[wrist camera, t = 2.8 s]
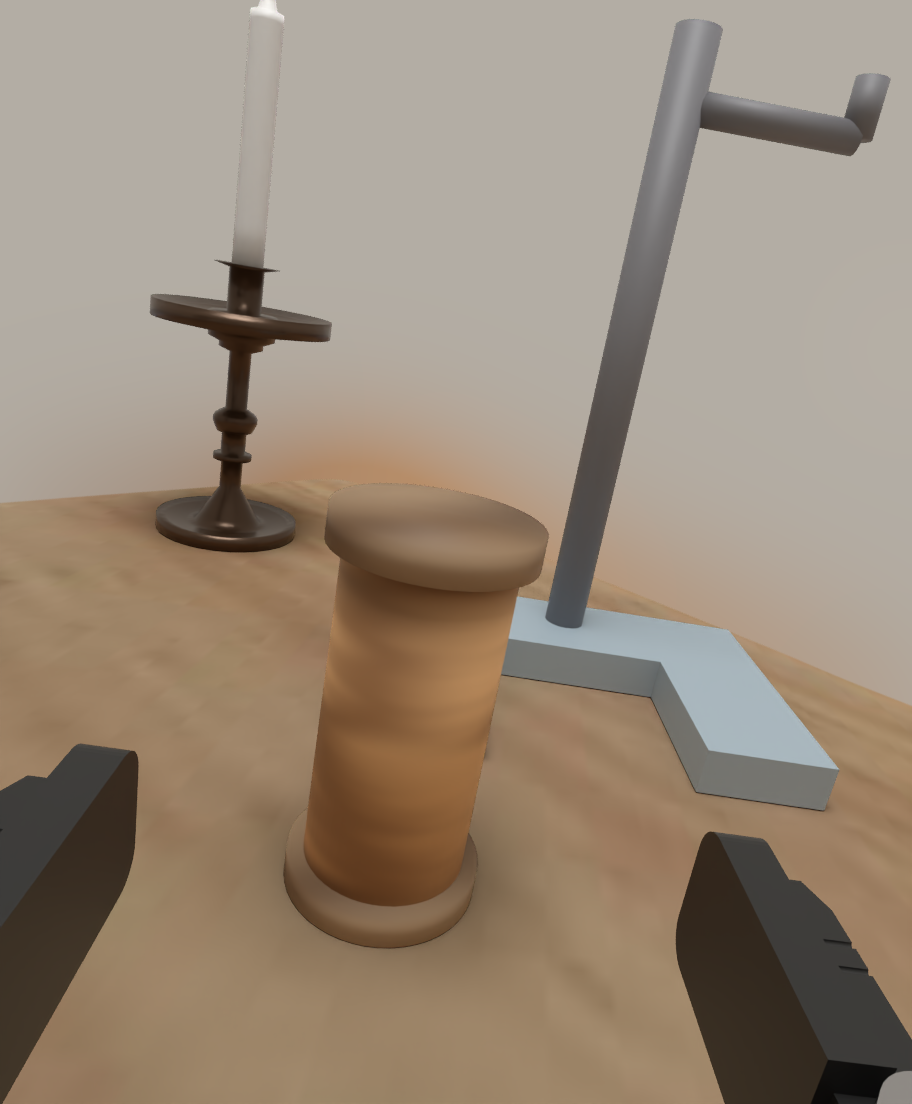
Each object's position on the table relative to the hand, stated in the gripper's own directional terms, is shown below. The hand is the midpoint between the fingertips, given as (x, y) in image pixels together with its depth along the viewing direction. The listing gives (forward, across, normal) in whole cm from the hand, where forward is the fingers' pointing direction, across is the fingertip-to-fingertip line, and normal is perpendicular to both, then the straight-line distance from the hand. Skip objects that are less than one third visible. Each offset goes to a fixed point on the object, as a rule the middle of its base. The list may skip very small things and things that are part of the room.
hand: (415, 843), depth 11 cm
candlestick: (+42, +14, +10) cm, 46 cm away
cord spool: (+12, 0, +10) cm, 15 cm away
